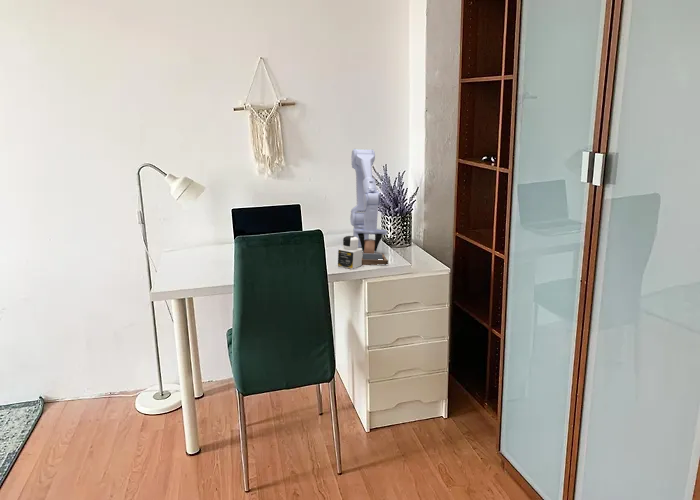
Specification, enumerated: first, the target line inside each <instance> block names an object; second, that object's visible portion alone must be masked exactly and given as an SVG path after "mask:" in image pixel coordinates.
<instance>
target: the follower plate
mask: <svg viewBox="0 0 700 500" xmlns="http://www.w3.org/2000/svg"><path fill="white" fill-rule="evenodd" d="M362 258H363V259H366V260H378V259H382V254H381V253H375V254H371V253H363V252H362Z"/></svg>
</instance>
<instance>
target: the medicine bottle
mask: <svg viewBox="0 0 700 500" xmlns="http://www.w3.org/2000/svg"><path fill="white" fill-rule="evenodd" d="M342 239H343V240H342V247H341V248H338V252H337V266H338V267H341V268H346V269H351V270H353V269H357V268H358V267H361V266H363V265H362V253H363V251H362V247H358V238H357V237H355V236H353V235H346V236H344V237H343V238H342Z"/></svg>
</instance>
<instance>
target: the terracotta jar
mask: <svg viewBox="0 0 700 500" xmlns="http://www.w3.org/2000/svg"><path fill="white" fill-rule="evenodd" d="M362 253H371V254H374V253H375V254H376V251H375V239H373V238H369V239H365V240H364V251H362Z"/></svg>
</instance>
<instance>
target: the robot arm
mask: <svg viewBox="0 0 700 500" xmlns="http://www.w3.org/2000/svg"><path fill="white" fill-rule="evenodd" d="M350 160H351V168H352V169H353V170H355V181H356V182H355V185H356V186H355V187H356V188H355V189H356V205H355V206H354V207H352V208H351V210H350V216H349V217H350V218H349V220H350V225H351V226H352V227H353V231H352V234H353V235H352V236H355V237H357V238H358V248H361V249H362V252H363V251H364V240H365V239H370V236H369V235H374V240H375V252H377V250H378V247H379V244H380V242H381V240H382V239H383V236H387V234H388V230H387V229H380V228H379V229H378V217H379V216H378V215H379V207H380V205H381V193H380V192H379V190H377V189H378V187H377V183H376V179H375V178H374V177H373V169H372V168H373V167H372V166H373V165H374V163H375V160H376V151H375V150H374V149H363V148H361V149H356V148H353V149H352V151H351V159H350Z"/></svg>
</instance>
